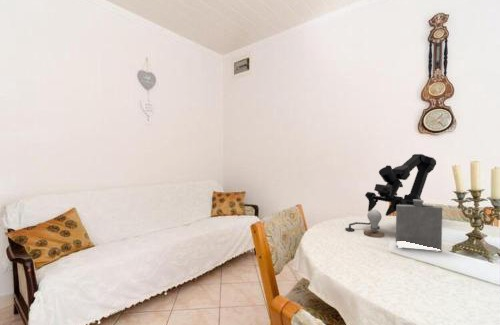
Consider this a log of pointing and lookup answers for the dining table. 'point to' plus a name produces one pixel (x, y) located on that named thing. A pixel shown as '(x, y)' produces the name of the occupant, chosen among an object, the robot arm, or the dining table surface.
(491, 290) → the dining table surface
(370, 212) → the lightbulb
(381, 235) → the walnut coaster
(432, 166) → the robot arm
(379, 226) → the grey metal bracket
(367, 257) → the dining table surface
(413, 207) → the hip flask
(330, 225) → the dining table surface
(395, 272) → the dining table surface
